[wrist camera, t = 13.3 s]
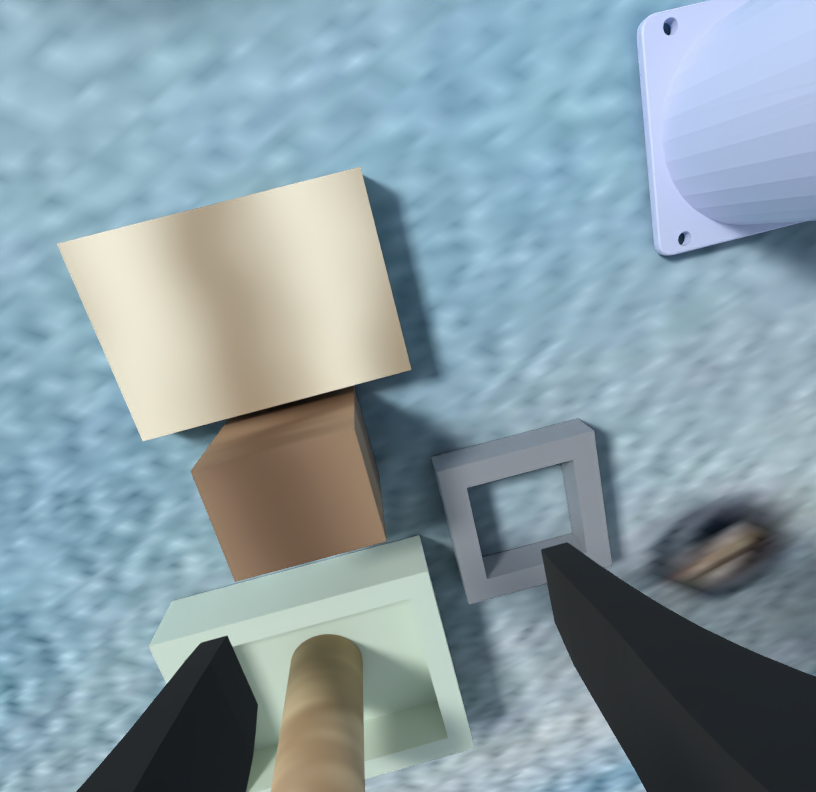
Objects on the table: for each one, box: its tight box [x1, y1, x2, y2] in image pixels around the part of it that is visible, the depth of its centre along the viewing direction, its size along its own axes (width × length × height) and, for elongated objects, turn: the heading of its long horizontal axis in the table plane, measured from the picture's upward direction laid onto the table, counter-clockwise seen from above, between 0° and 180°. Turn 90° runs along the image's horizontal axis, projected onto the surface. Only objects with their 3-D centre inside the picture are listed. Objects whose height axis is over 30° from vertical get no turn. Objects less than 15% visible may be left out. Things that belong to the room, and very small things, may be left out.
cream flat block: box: [57, 167, 411, 441], centre depth 18 cm, size 10×7×2 cm
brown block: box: [191, 386, 386, 582], centre depth 18 cm, size 5×4×5 cm
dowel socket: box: [431, 419, 612, 605], centre depth 22 cm, size 6×6×2 cm
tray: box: [149, 535, 474, 792], centre depth 22 cm, size 11×10×3 cm
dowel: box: [271, 634, 365, 792], centre depth 19 cm, size 3×3×7 cm
